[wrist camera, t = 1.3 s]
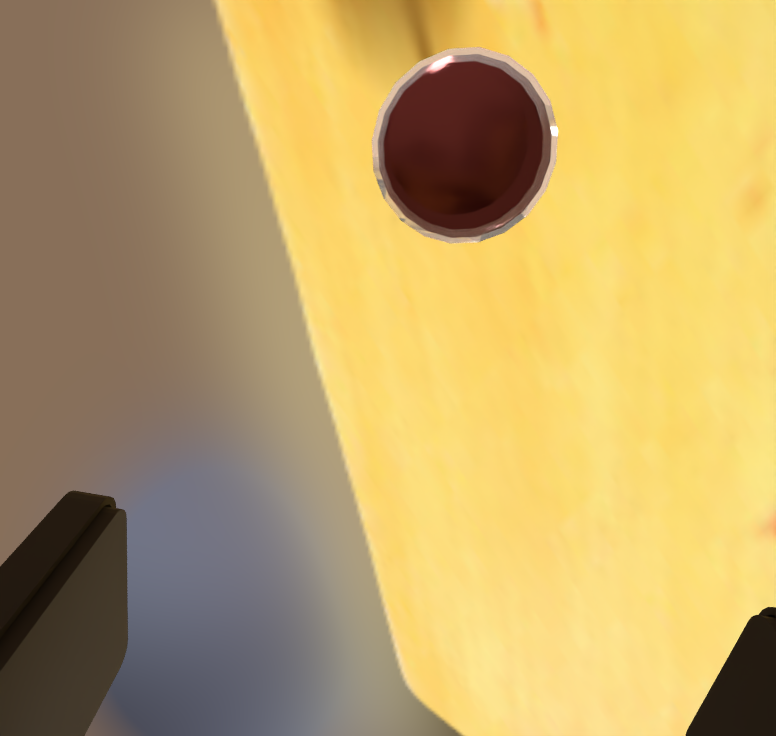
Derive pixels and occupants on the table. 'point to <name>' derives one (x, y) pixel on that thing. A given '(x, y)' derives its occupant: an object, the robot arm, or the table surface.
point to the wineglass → (464, 145)
